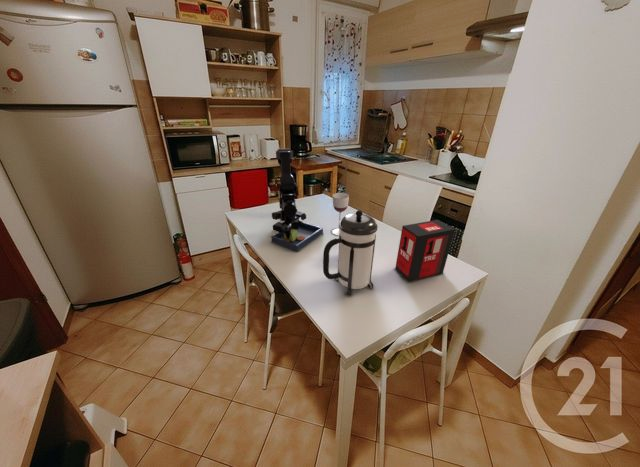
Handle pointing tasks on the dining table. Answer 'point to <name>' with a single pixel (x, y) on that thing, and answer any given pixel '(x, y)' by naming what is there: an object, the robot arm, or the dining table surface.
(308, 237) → the tray
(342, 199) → the wineglass
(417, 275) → the cleaning product box
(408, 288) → the dining table surface
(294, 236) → the sponge
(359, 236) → the coffee press
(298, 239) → the orange round disc
